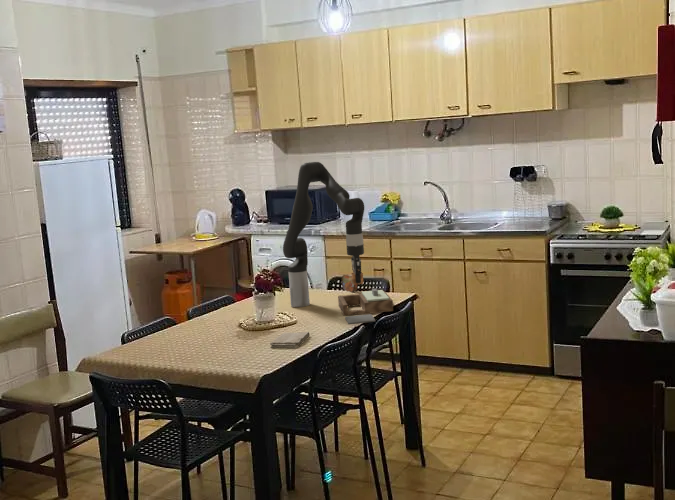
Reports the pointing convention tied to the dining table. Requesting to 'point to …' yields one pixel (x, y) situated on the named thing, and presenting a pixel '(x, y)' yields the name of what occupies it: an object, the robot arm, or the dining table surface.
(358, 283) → the block
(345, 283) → the tin
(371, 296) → the cover
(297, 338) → the washcloth
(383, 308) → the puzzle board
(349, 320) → the rubber mat
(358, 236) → the robot arm
